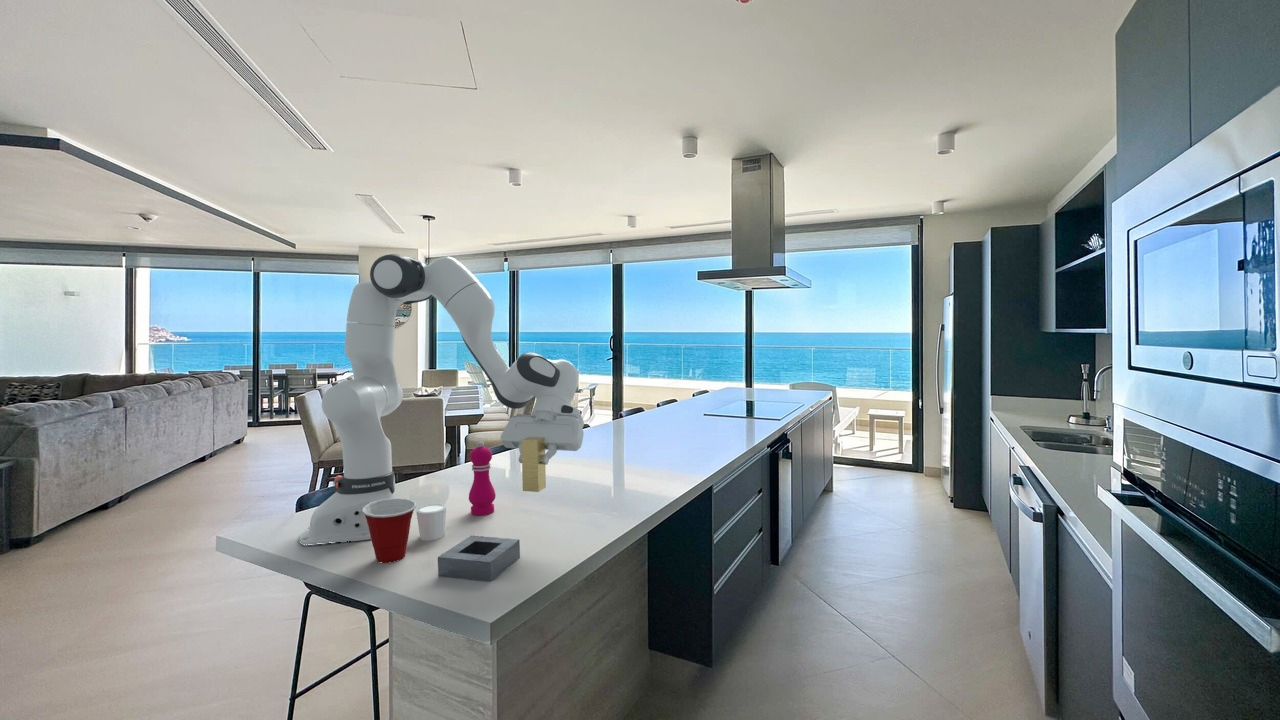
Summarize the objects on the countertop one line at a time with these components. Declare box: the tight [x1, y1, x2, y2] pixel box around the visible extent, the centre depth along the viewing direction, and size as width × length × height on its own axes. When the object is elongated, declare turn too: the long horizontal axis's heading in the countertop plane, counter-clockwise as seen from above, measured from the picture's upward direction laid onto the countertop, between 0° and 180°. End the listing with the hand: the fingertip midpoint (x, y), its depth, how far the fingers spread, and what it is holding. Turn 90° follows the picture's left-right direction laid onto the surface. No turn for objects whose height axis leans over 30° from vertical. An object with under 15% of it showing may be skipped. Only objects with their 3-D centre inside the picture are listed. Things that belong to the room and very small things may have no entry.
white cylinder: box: [415, 503, 447, 542], centre depth 128 cm, size 7×7×7 cm
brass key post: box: [521, 437, 547, 493], centre depth 123 cm, size 4×4×12 cm
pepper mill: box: [468, 440, 497, 517], centre depth 146 cm, size 7×7×20 cm
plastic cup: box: [362, 497, 417, 564], centre depth 115 cm, size 11×11×12 cm
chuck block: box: [437, 535, 521, 583], centre depth 110 cm, size 12×12×4 cm
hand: (532, 462), depth 122 cm, fingers closed on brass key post, 4 cm apart
